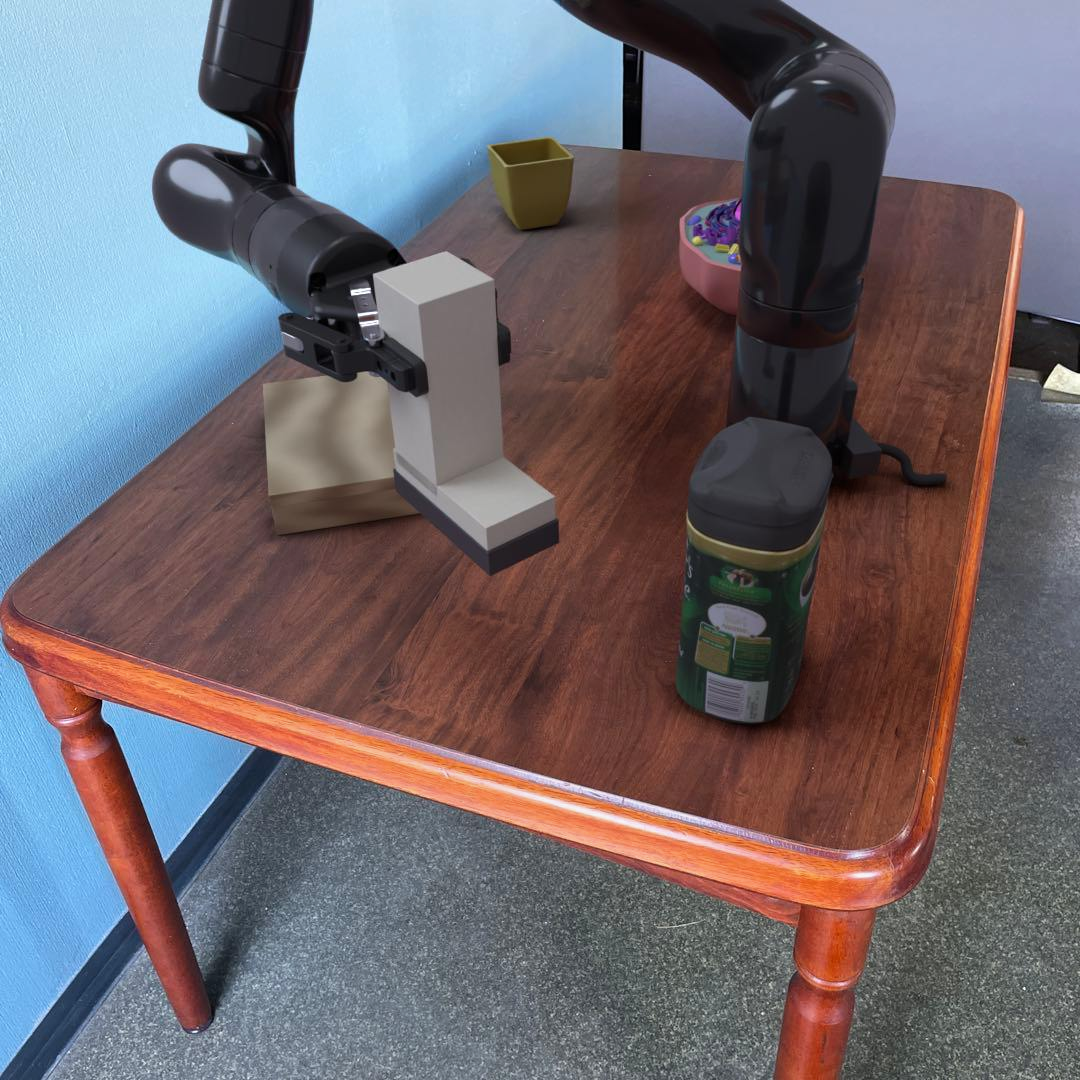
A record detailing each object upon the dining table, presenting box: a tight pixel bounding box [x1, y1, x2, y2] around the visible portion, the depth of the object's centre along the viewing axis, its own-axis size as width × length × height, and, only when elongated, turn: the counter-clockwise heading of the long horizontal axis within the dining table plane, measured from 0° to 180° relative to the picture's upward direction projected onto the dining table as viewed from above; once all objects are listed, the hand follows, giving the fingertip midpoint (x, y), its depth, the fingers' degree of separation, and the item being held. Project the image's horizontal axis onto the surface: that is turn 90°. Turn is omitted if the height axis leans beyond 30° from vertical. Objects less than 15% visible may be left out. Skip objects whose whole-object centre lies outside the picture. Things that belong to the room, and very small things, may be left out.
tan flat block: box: [262, 372, 420, 536], centre depth 93 cm, size 12×18×4 cm, turn 13°
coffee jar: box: [675, 417, 833, 725], centre depth 67 cm, size 10×8×19 cm
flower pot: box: [487, 136, 575, 231], centre depth 134 cm, size 9×9×9 cm
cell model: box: [678, 195, 742, 317], centre depth 114 cm, size 17×20×11 cm
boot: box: [373, 250, 560, 577], centre depth 64 cm, size 11×5×16 cm, turn 37°
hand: (464, 364), depth 62 cm, fingers closed on boot, 5 cm apart
